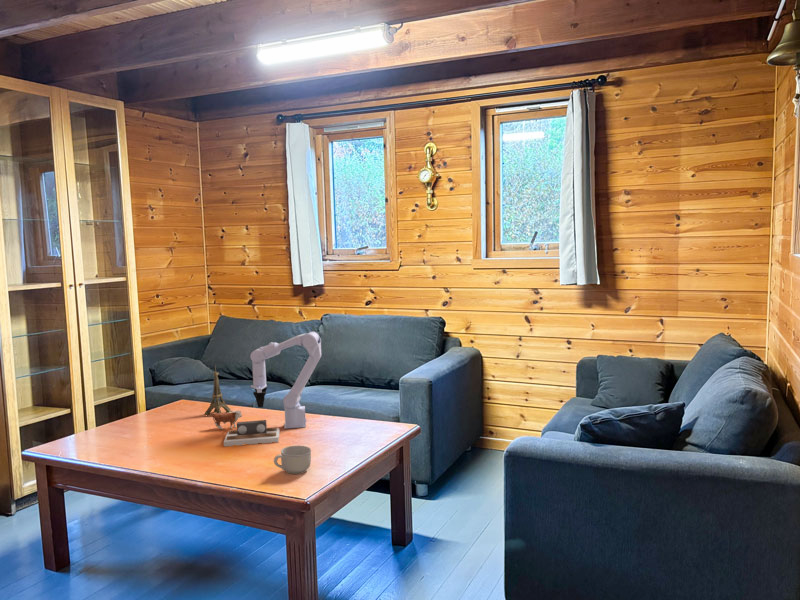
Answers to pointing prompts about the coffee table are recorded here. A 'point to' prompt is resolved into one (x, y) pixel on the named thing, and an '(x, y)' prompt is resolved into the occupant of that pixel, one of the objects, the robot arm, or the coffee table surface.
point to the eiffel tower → (217, 398)
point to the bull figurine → (226, 418)
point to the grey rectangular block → (251, 427)
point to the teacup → (294, 459)
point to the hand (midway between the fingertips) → (260, 405)
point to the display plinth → (252, 437)
